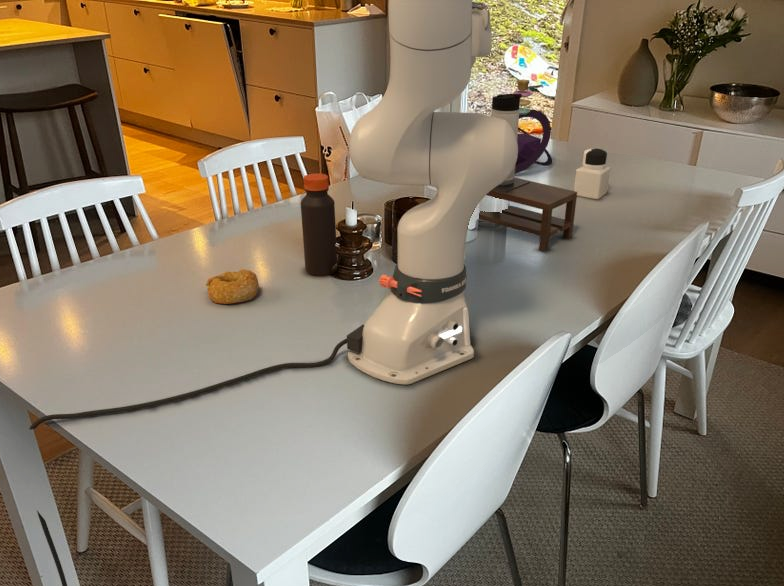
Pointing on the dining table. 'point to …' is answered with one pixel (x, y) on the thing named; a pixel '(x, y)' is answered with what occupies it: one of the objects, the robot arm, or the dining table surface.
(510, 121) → the travel mug
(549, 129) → the decorative bottle
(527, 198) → the coffee table
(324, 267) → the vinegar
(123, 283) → the dining table surface
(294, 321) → the dining table surface
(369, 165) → the robot arm
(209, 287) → the bagel
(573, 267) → the dining table surface
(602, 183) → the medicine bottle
